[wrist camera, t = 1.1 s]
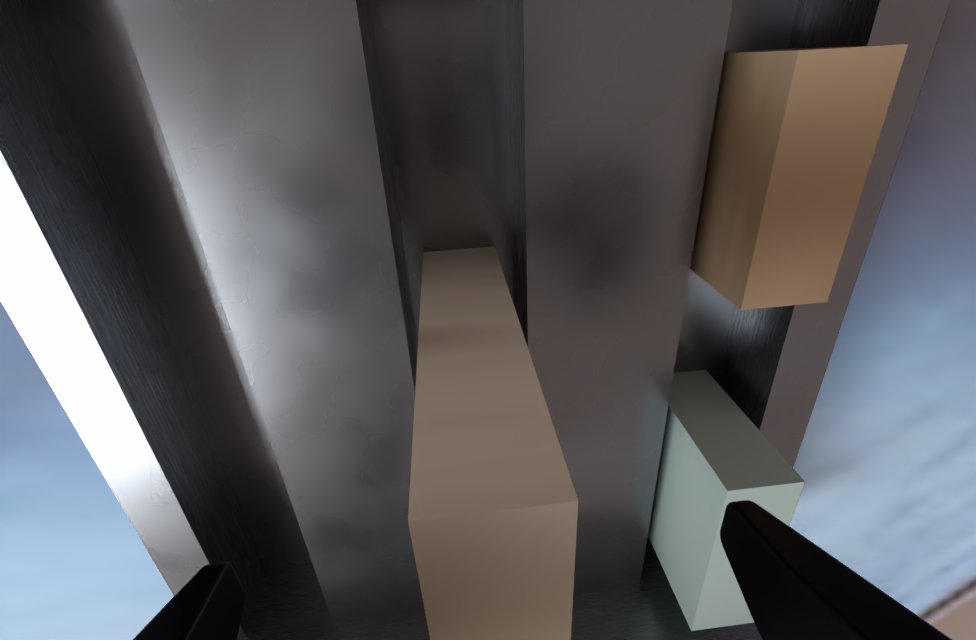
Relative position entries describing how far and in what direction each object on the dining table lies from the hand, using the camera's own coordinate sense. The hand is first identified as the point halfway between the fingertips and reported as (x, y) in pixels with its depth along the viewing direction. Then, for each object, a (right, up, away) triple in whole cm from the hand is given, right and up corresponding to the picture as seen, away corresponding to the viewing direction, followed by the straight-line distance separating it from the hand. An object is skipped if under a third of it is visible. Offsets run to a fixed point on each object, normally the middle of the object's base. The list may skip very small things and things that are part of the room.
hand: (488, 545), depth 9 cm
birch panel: (-1, +3, +6) cm, 7 cm away
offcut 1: (+6, +8, +4) cm, 11 cm away
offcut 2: (+6, 0, +9) cm, 11 cm away
